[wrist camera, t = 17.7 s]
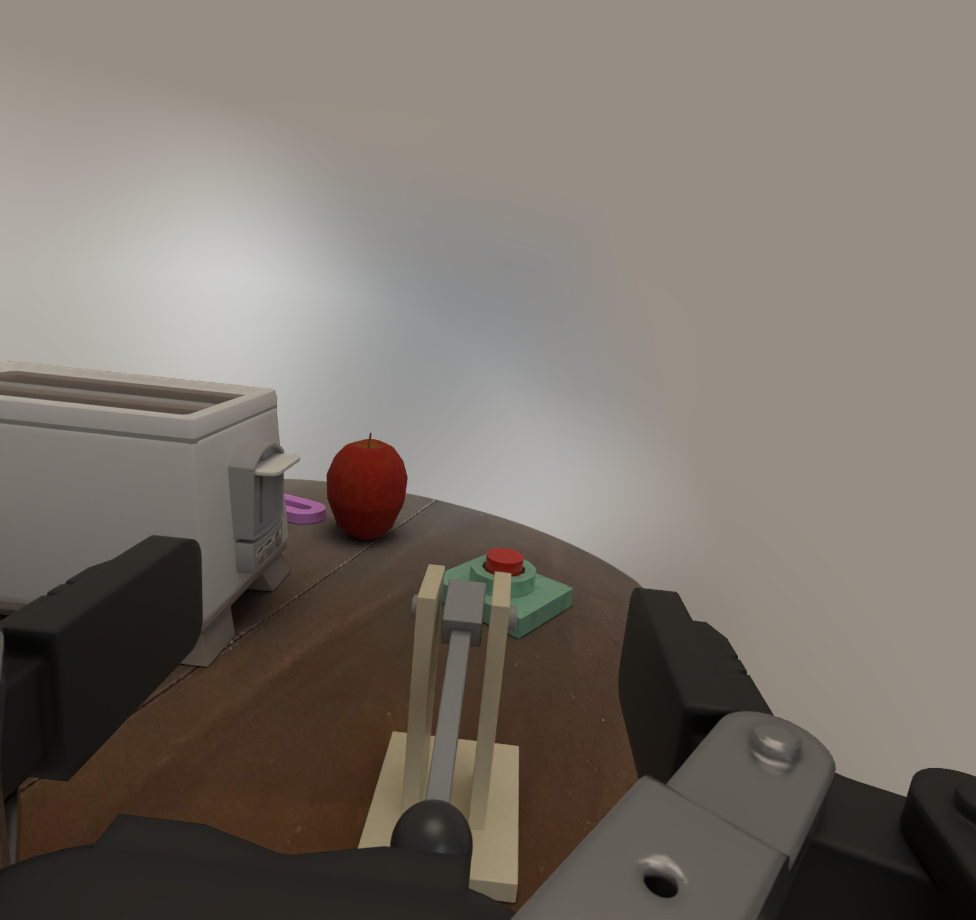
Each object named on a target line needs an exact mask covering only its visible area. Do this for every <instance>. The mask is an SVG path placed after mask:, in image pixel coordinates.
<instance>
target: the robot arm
mask: <svg viewBox="0 0 976 920" xmlns="http://www.w3.org/2000/svg"><path fill="white" fill-rule="evenodd" d="M202 622H203V600H202V555H201V548H200V545H199V543H198V542H197V541H196V540H195V539H188V538H178V537H169V536H160V535H151V536H149V537H148V538H146V539H144V540H143V541H141V542H140V543H138V544H136V545H135V546H133V547H131V548H130V549H128V550H127V551H125V552H123V553H122V554H120V555H119V556H117V557H115V558H114V559H112V560H109V561H106V562H103V563H100V564H97V565H94V566H91V567H88V568H87V569H85V570H83V571H82V572H80V573H78V574H77V575H75V576H73V577H72V578H70V579H68V580H67V581H66V583H65V584H60V585H59V586H57V587H55V588H54V589H52V590H50V591H49V592H47V595H46V596H45V595H42V596H40V597H39V598H37V599H35V600H34V601H32V602H30V603H29V604H27V605H25V606H24V607H22V608H21V609H19V610H17V611H16V612H14V613H12V614H11V615H9V616H7V617H6V618H4V619H2V620H1V621H0V920H976V777H975V776H973V775H970V774H966V773H963V772H959V771H955V770H950V769H942V768H928V769H923V770H921V771H919V772H917V773H916V774H915V775H914V776H913V778H912V781H911V784H910V788H909V791H908V794H907V797H905V796H901V795H898V794H895V793H892V792H889V791H886V790H883V789H879V788H876V787H873V786H870V785H867V784H864V783H861V782H857V781H855V780H852V779H849V778H846V777H844V776H842V775H839V774H837V773H835V770H836V769H835V762H834V760H833V757H832V756H831V754H830V752H829V751H828V749H827V748H825V746H824V745H823V744H822V743H821V742H820V741H819V740H818V739H817V738H816V737H814V736H813V735H811V734H810V733H809V732H807V731H805V730H804V729H802V728H801V727H799V726H797V725H795V724H793V723H791V722H789V721H787V720H784V719H782V718H779V717H776V716H774V715H773V713H772V712H771V710H770V708H769V707H768V705H767V703H766V702H765V700H764V699H763V697H762V695H761V694H760V692H759V690H758V689H757V687H756V685H755V684H754V682H753V680H752V679H751V677H750V675H747V671H746V669H745V667H744V666H743V664H742V662H741V661H740V660H738V656H737V654H736V652H735V651H734V649H733V647H732V646H731V644H730V643H729V641H728V639H727V638H726V637H724V636H723V635H722V634H721V633H719V632H718V631H717V630H715V629H714V628H713V627H712V626H710V625H709V624H708V623H706V622H699V621H693V620H692V618H691V617H690V615H689V613H688V611H687V609H686V607H685V605H684V604H683V602H682V600H681V598H680V596H679V594H678V593H677V592H672V591H663V590H653V589H644V588H634V590H633V592H632V595H631V599H630V604H629V610H628V617H627V623H626V629H625V635H624V642H623V648H622V654H621V660H620V667H619V699H620V704H621V709H622V713H623V717H624V721H625V725H626V729H627V733H628V737H629V742H630V746H631V750H632V754H633V758H634V762H635V766H636V770H637V775H638V779H639V780H638V781H637V782H636V783H635V784H634V785H633V786H632V787H631V788H630V790H629V791H628V792H627V793H626V794H625V795H624V796H623V797H622V798H621V799H620V801H619V802H618V803H617V804H616V805H615V806H614V807H613V808H612V809H611V810H610V811H609V813H608V814H607V815H606V816H605V817H604V818H603V819H602V820H601V821H600V822H599V823H598V825H597V826H596V827H595V828H594V829H593V830H592V831H591V832H590V833H589V834H588V835H587V837H586V838H585V839H584V840H583V841H582V842H581V843H580V844H579V845H578V846H577V847H576V849H575V850H574V851H573V852H572V853H571V854H570V855H569V856H568V857H567V858H566V859H565V861H564V862H563V863H562V864H561V865H560V866H559V867H558V868H557V869H556V870H555V871H554V873H553V874H552V875H551V876H550V877H549V878H548V879H547V880H546V881H545V882H544V884H543V885H542V886H541V887H540V888H539V889H538V890H537V891H536V892H535V893H534V894H533V896H532V897H531V898H530V899H529V900H528V901H527V902H526V903H525V904H524V905H523V906H522V908H521V909H520V910H519V911H518V912H517V913H516V912H514V911H513V910H511V909H510V908H508V907H507V906H505V905H503V904H502V903H500V902H498V901H496V900H494V899H492V898H490V897H488V896H486V895H484V894H482V893H480V892H477V891H475V890H472V889H470V888H469V881H470V870H471V859H472V857H471V856H462V855H454V854H446V853H438V852H429V851H421V850H413V849H405V848H396V847H388V846H379V847H368V848H358V849H348V850H338V851H327V852H317V853H307V854H297V855H287V854H281V853H277V852H274V851H272V850H269V849H267V848H264V847H262V846H259V845H256V844H254V843H251V842H249V841H246V840H244V839H241V838H239V837H236V836H233V835H231V834H228V833H226V832H223V831H221V830H218V829H216V828H213V827H210V826H208V825H205V824H199V823H191V822H183V821H174V820H166V819H158V818H150V817H141V816H133V815H125V814H118V816H117V817H116V818H115V819H114V821H113V822H112V823H111V824H110V826H109V827H108V828H107V829H106V831H105V832H104V833H103V834H102V836H101V837H100V838H99V839H98V841H97V842H96V843H95V844H90V845H83V846H77V847H72V848H67V849H61V850H58V851H54V852H50V853H46V854H43V855H39V856H36V857H33V858H30V859H27V860H24V861H21V862H19V859H20V830H21V798H20V789H19V786H20V785H21V784H22V783H23V782H24V781H25V780H26V779H27V778H28V777H34V778H42V779H50V780H59V781H67V782H68V781H69V780H70V779H71V777H72V776H73V775H74V774H75V773H76V772H77V771H78V770H79V769H80V768H81V767H82V766H83V765H84V764H85V763H86V762H87V761H88V760H89V759H90V758H91V757H92V755H93V754H94V753H95V752H96V751H97V750H98V749H99V748H100V747H101V746H102V745H103V744H104V743H105V742H106V741H107V740H108V739H109V738H110V737H111V736H112V735H113V733H114V732H115V731H116V730H117V729H118V728H119V727H120V726H121V725H122V724H123V723H124V722H125V721H126V720H127V719H128V718H129V717H130V716H131V715H132V714H133V713H134V711H135V710H136V709H137V708H138V707H139V706H140V705H141V704H142V703H143V702H144V701H145V700H146V699H147V698H148V697H149V696H150V695H151V694H152V693H153V692H154V691H155V689H156V688H157V687H158V686H159V685H160V684H161V683H162V682H163V681H164V680H165V679H166V678H167V677H168V676H169V675H170V674H171V673H172V672H173V671H174V670H175V669H176V667H177V666H178V665H179V664H180V663H181V662H182V661H183V660H184V659H185V658H186V657H187V656H188V655H189V654H190V653H191V652H192V650H193V649H194V647H195V645H196V643H197V641H198V639H199V636H200V632H201V628H202Z"/></svg>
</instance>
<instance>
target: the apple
mask: <svg viewBox="0 0 976 920" xmlns="http://www.w3.org/2000/svg"><path fill="white" fill-rule="evenodd" d="M406 485H407V474H406V470H405V466H404V462H403V460H402V459H401V457H400V456H399V454H398V453H397V452H396V450H395V449H394V448H393V447H392V446H390V445H388V444H386V443H384V442H382V441H379V440H375V439H371V433H370V436H369V439H366V440H361V441H357V442H354V443H350V444H347V445H345V446H344V447H343V448H342V449H341V450H340V451H339V452H338V453H337V454H336V456H335V457H334V459H333V461H332V464H331V466H330V468H329V470H328V473H327V499H328V501H329V504H330V507H331V509H332V512H333V515H334V518H335V520H336V523H337V526H338V527H339V528H341V529H342V530H343V531H345V532H346V533H347V534H349V535H350V536H352V537H354V538H357V539H361V540H374V539H377V538H379V537H380V536H382V535H383V534H384V533H385V532H387V531H388V530H389V529H390V528H391V527H392V526H393V524H394V522H395V520H396V518H397V516H398V514H399V512H400V510H401V508H402V506H403V503H404V501H405V493H406Z"/></svg>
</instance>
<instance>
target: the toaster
mask: <svg viewBox="0 0 976 920" xmlns="http://www.w3.org/2000/svg"><path fill="white" fill-rule="evenodd" d="M299 461H300V456H298V455H292V454H284V449H283V448H282V447H281V446H280V440H279V430H278V419H277V396H276V392H275V390H274V389H270V388H261V387H251V386H241V385H232V384H222V383H212V382H202V381H193V380H184V379H174V378H164V377H155V376H146V375H136V374H126V373H117V372H108V371H97V370H88V369H78V368H69V367H60V366H51V365H41V364H32V363H23V362H12V361H8V362H7V361H6V362H0V614H1V615H11V614H12V613H14V612H16V611H17V610H19V609H21V608H22V607H24V606H25V605H27V604H29V603H30V602H32V601H34V600H35V599H37V598H39V597H40V596H42V595H45V596H46V595H47V592H49V591H50V590H52V589H54V588H55V587H57V586H59V585H60V584H65V583H66V581H67V580H68V579H70V578H72V577H73V576H75V575H77V574H78V573H80V572H82V571H83V570H85V569H87V568H88V567H91V566H94V565H97V564H100V563H103V562H106V561H109V560H112V559H114V558H115V557H117V556H119V555H120V554H122V553H123V552H125V551H127V550H128V549H130V548H131V547H133V546H135V545H136V544H138V543H140V542H141V541H143V540H144V539H146V538H148V537H149V536H151V535H160V536H169V537H178V538H188V539H195V540H196V541H197V542H198V543H199V545H200V548H201V555H202V600H203V622H202V628H201V632H200V636H199V639H198V641H197V643H196V645H195V647H194V649H193V650H192V652H191V653H190V654H189V655H188V656H187V657H186V658H185V659H184V660H183V661H182V662H181V663H180V664H187V665H195V666H203V667H208V666H209V665H210V664H211V663H212V661H213V660H214V659H215V658H216V657H217V656H218V654H219V653H220V652H221V651H222V650H223V649H224V648H225V646H226V645H227V644H228V643H229V642H230V641H231V639H232V638H233V637H234V636H235V631H234V625H233V619H232V613H231V605H232V604H233V603H234V602H235V601H236V600H237V599H238V598H239V597H240V596H241V595H242V594H243V593H244V592H245V591H246V589H255V590H263V591H274V590H275V589H276V587H277V586H278V585H279V584H280V583H281V582H282V580H283V579H284V578H285V577H286V576H287V575H288V574H289V572H290V569H289V567H288V565H287V563H286V562H285V560H284V558H283V556H282V554H281V553H282V552H283V551H284V550H285V548H286V543H285V542H286V541H287V538H288V527H287V516H286V505H285V494H284V484H283V482H284V471H286V470H287V469H289V468H290V467H292V466H293V465H294V464H296V463H297V462H299Z"/></svg>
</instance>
